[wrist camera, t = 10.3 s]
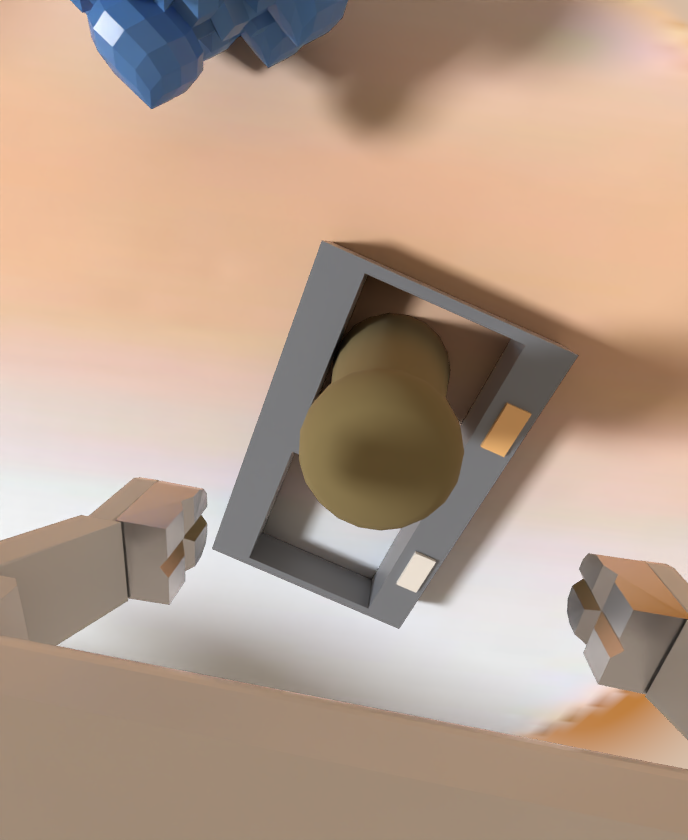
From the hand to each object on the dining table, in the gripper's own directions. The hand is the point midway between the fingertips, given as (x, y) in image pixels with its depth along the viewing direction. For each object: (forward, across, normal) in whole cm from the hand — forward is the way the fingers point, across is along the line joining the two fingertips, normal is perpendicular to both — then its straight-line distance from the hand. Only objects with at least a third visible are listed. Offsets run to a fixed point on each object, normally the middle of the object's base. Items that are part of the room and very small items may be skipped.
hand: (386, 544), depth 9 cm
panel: (+14, +1, +4) cm, 15 cm away
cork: (+14, 0, 0) cm, 14 cm away
